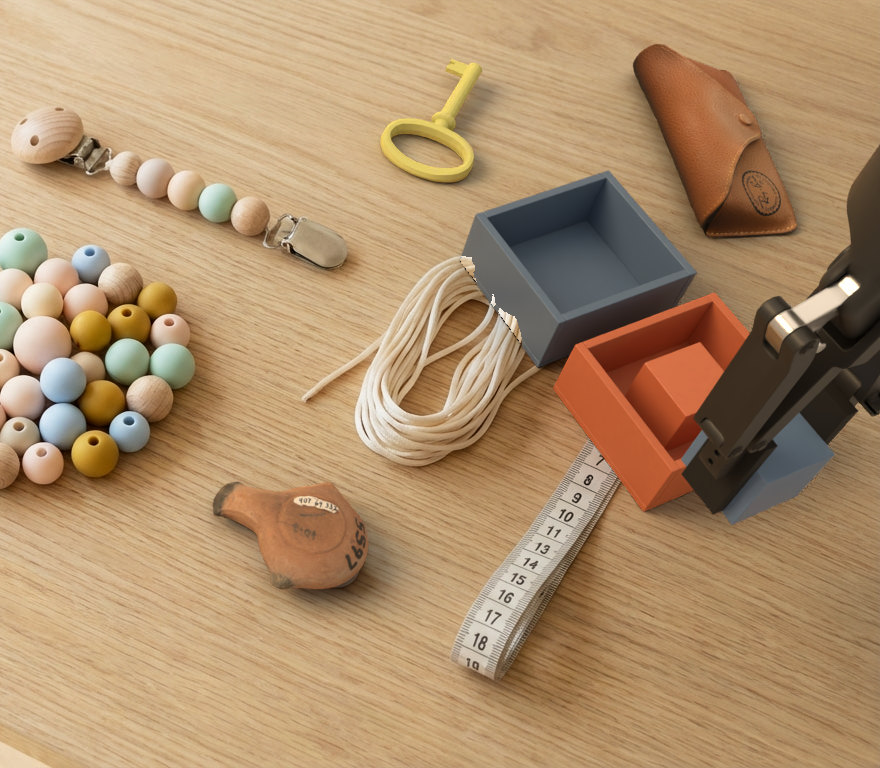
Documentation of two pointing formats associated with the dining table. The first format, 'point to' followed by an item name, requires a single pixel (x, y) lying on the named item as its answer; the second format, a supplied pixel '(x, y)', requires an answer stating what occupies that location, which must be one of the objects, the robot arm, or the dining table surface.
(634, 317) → the slate bin
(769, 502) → the slate block
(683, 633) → the dining table surface
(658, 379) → the terracotta block
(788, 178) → the dining table surface
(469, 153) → the key
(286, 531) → the oil lamp
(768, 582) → the dining table surface
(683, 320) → the terracotta bin
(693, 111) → the sunglasses case
